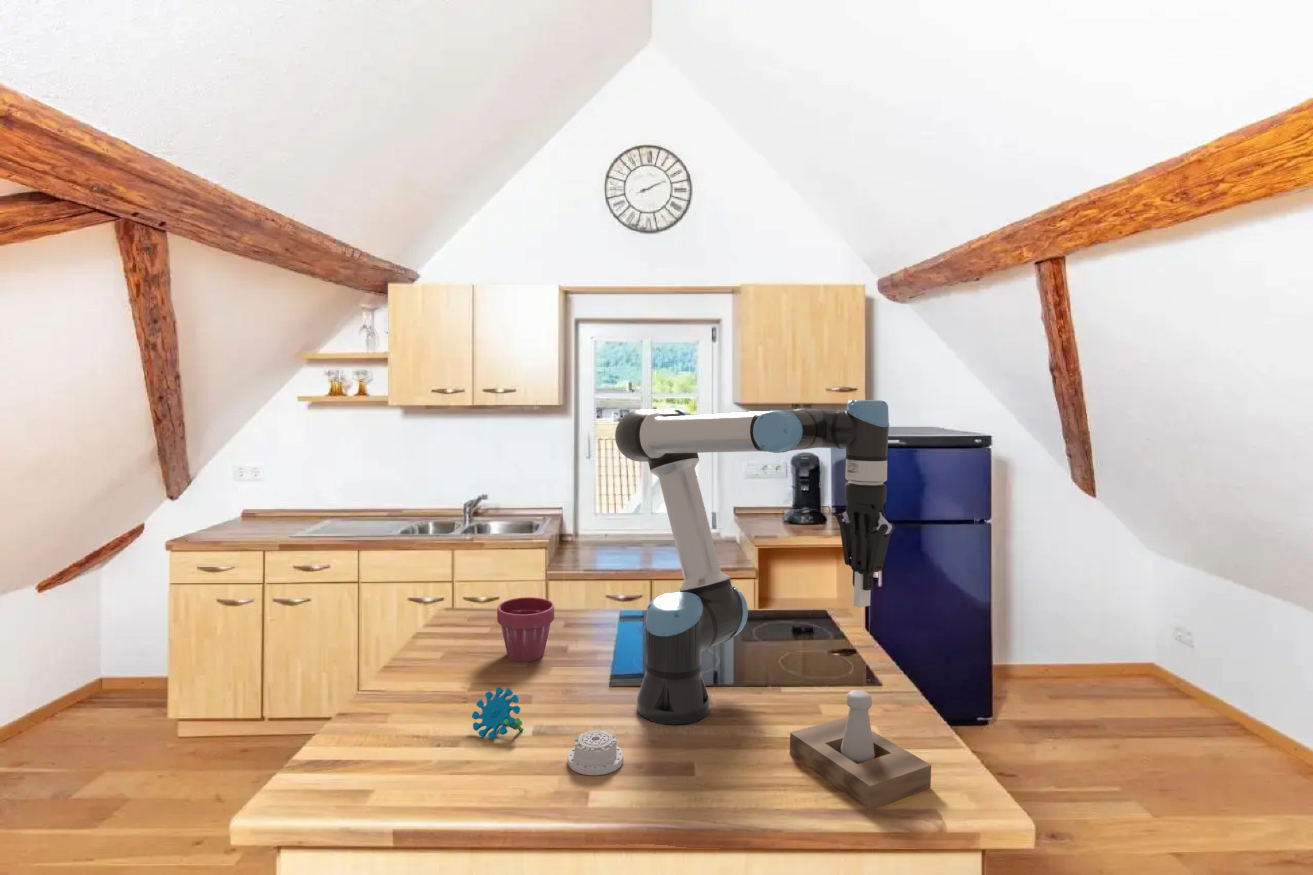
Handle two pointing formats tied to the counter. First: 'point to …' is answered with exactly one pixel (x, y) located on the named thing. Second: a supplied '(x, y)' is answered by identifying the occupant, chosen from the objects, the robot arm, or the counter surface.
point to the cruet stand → (861, 765)
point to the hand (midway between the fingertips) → (862, 605)
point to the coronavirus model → (497, 713)
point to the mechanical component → (595, 753)
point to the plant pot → (525, 626)
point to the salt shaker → (858, 728)
